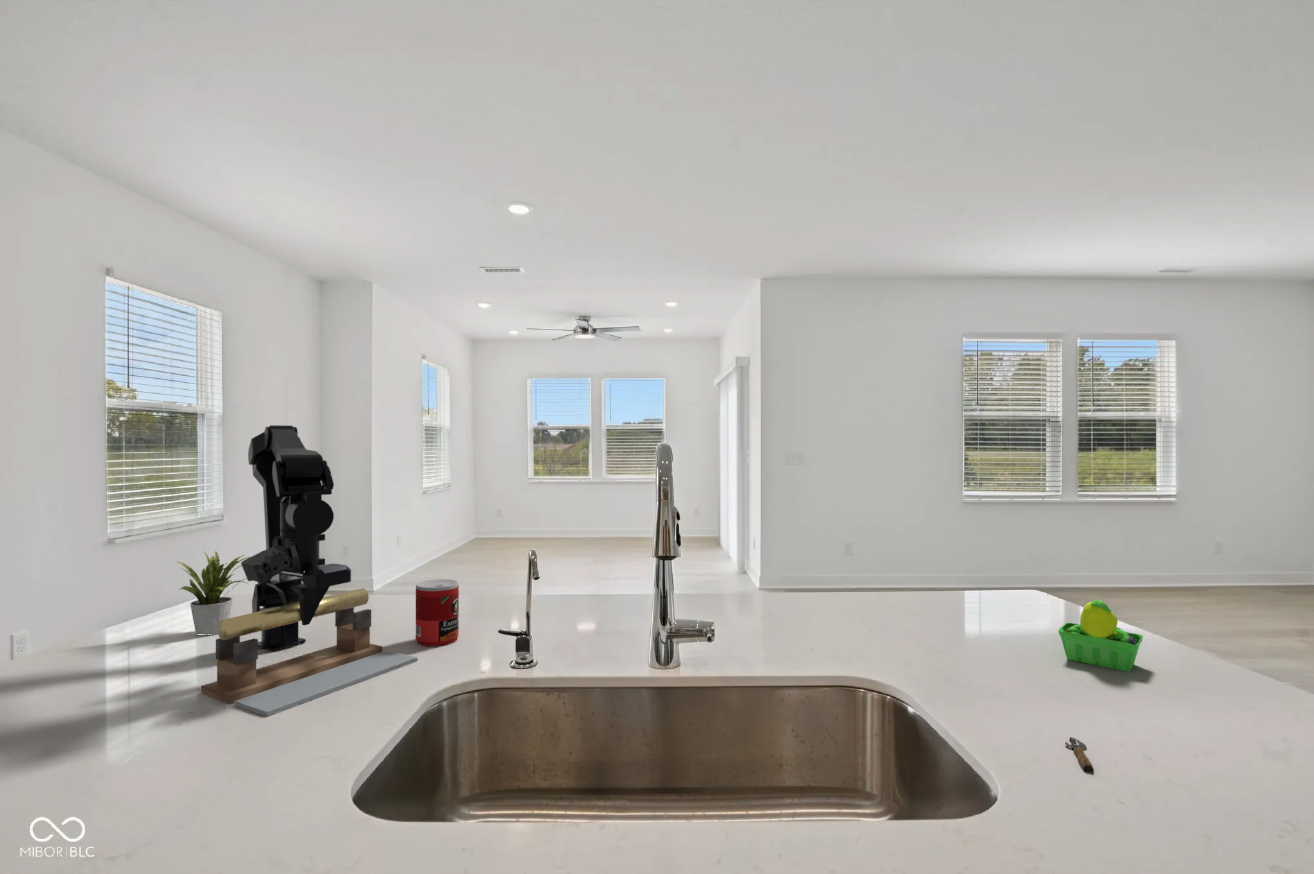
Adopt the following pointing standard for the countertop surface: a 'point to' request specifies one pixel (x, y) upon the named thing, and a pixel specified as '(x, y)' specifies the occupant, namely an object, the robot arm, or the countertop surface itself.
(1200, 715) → the countertop surface
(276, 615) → the rail
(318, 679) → the mat
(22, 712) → the countertop surface
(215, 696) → the stand
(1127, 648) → the fruit basket
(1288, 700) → the countertop surface
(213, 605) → the house plant
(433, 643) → the canned food
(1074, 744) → the can opener
